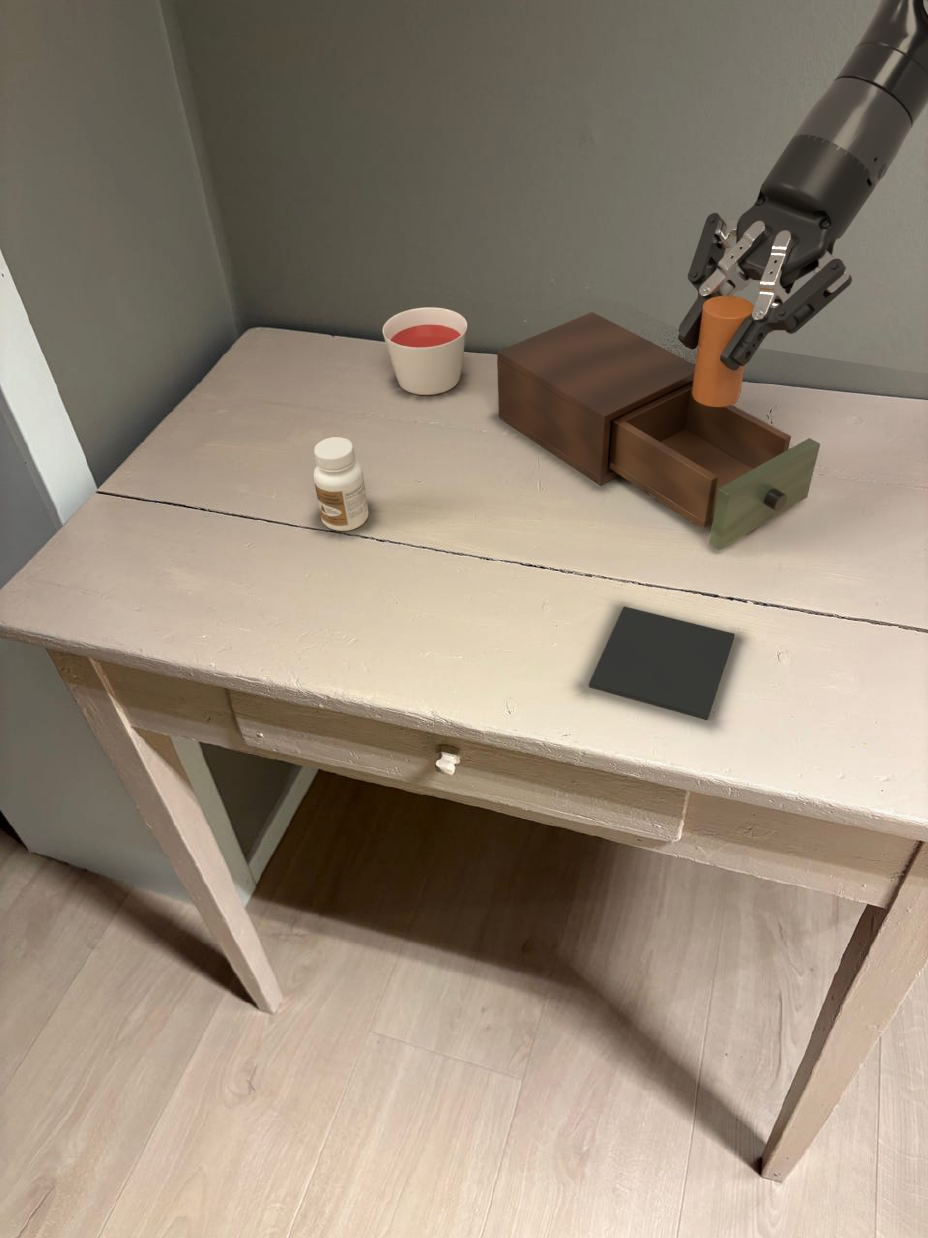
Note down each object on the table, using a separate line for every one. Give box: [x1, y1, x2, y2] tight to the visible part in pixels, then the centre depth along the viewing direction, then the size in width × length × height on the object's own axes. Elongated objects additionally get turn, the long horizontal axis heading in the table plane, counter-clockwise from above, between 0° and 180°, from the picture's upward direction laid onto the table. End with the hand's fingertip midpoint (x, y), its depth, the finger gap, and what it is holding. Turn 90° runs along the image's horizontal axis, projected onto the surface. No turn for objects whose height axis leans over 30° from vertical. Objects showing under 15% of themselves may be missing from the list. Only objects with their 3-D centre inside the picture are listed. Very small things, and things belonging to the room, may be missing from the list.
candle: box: [382, 306, 468, 396], centre depth 104 cm, size 9×9×6 cm
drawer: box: [610, 383, 821, 551], centre depth 86 cm, size 16×11×6 cm
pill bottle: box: [312, 436, 369, 532], centre depth 86 cm, size 4×4×8 cm
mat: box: [588, 605, 736, 720], centre depth 74 cm, size 9×9×1 cm
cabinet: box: [496, 311, 696, 486], centre depth 95 cm, size 16×13×8 cm
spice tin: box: [692, 295, 755, 407], centre depth 79 cm, size 4×4×8 cm
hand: (706, 353), depth 78 cm, fingers closed on spice tin, 4 cm apart
